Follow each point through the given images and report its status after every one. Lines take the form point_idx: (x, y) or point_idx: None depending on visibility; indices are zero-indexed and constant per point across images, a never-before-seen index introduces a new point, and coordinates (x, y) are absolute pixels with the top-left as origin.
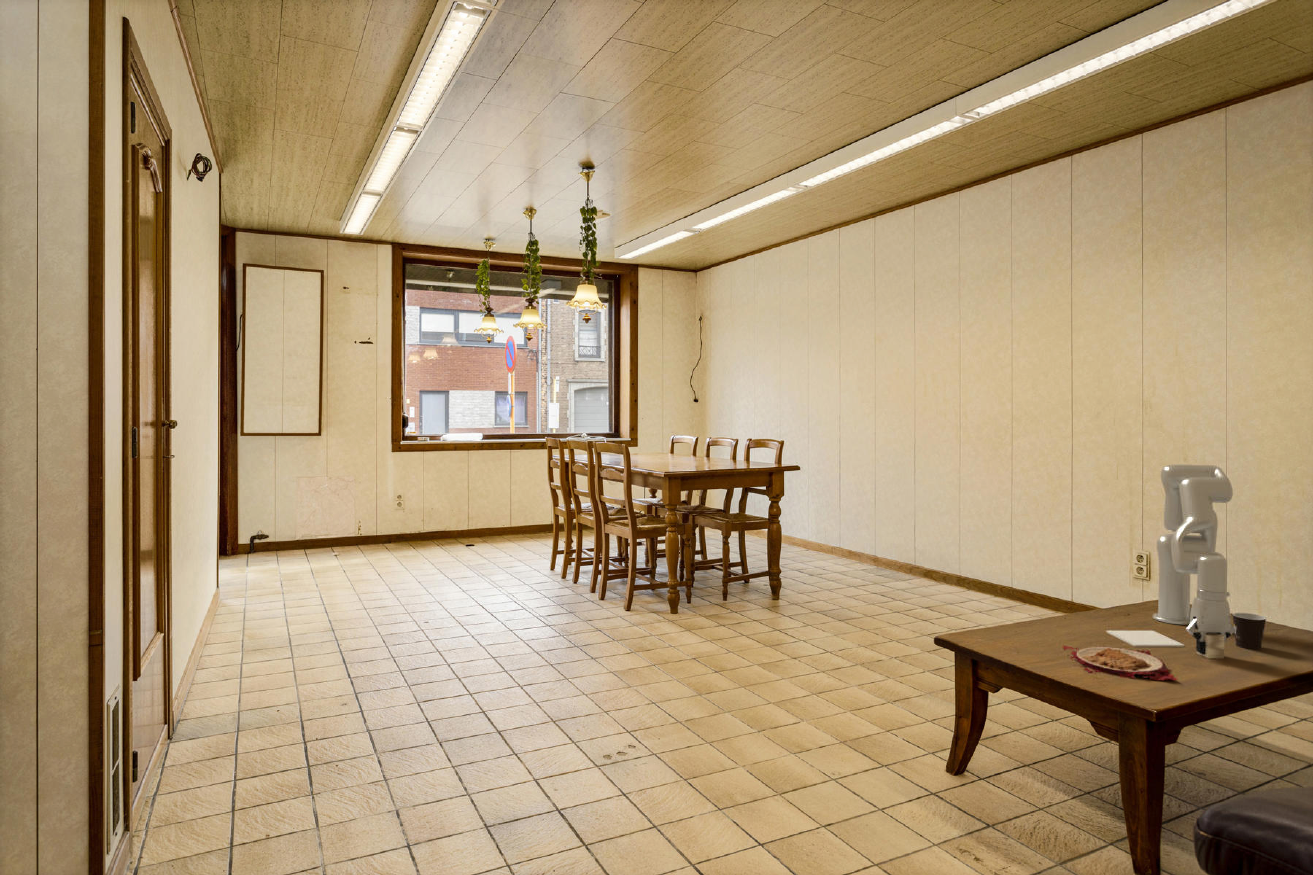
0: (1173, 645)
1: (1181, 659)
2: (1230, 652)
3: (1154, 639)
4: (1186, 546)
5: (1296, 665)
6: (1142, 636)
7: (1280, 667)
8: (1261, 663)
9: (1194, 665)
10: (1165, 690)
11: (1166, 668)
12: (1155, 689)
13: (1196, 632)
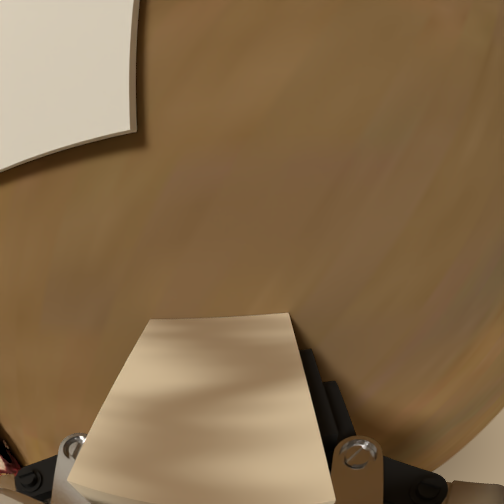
0: (49, 151)
1: (45, 405)
2: (437, 278)
3: (12, 43)
4: None
5: (497, 408)
6: (1, 7)
7: (431, 450)
8: (413, 434)
9: None
10: None
11: (15, 470)
12: None
13: (58, 495)
